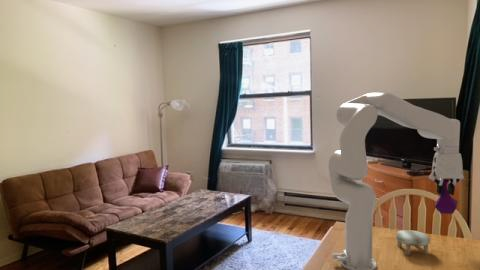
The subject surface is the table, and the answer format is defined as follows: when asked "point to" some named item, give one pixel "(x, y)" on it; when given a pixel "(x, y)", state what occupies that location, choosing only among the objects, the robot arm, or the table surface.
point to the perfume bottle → (446, 201)
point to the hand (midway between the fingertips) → (445, 193)
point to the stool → (413, 240)
